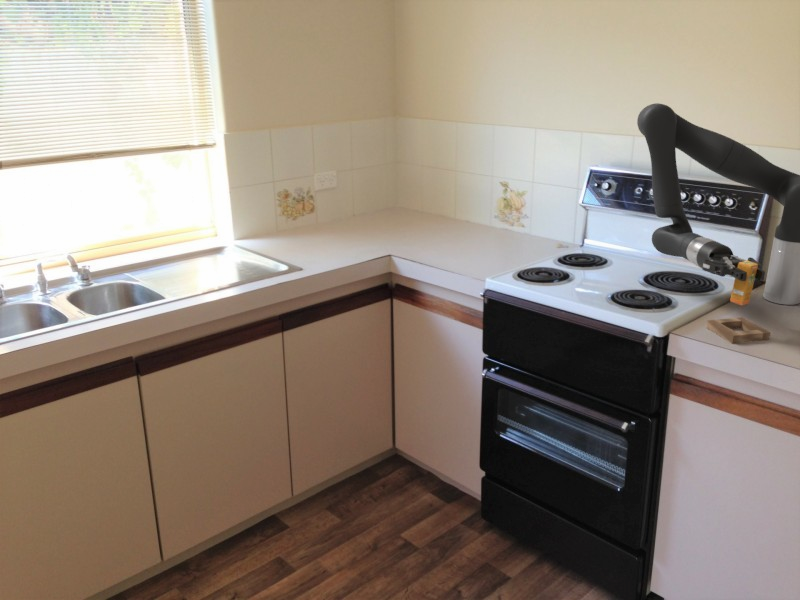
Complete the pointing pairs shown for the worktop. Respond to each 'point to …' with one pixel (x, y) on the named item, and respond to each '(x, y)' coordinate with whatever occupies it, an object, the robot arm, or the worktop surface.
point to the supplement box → (744, 283)
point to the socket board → (748, 335)
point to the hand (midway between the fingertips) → (753, 276)
